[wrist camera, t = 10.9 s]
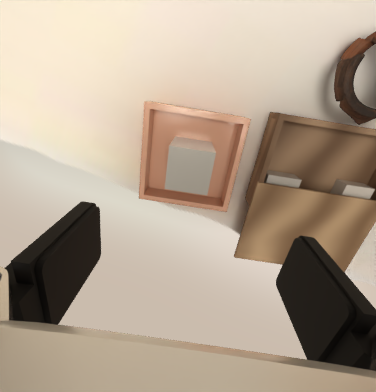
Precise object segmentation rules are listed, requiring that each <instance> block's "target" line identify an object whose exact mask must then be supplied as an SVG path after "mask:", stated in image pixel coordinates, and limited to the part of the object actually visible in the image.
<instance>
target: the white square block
mask: <svg viewBox="0 0 376 392" xmlns="http://www.w3.org/2000/svg"><path fill="white" fill-rule="evenodd" d="M374 191H375V189H374V188H372V187H370V186H368V185H366V184H364V183H358V182H352V181H346V180H339V179H337V180H336V182H335V184H334V186H333V188H332V190H331V192H330V193H333V194H339V195H345V196H351V197H358V198H364V199H370V198H371V196H372V194H373V192H374Z"/></svg>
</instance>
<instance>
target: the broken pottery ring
mask: <svg viewBox="0 0 376 392" xmlns="http://www.w3.org/2000/svg"><path fill="white" fill-rule="evenodd" d="M374 44H376V32H374V33H373V34H371V35H369V36H368V37H367V38H366V39H361V38H358V39H357V40H356V41H354V42H353V43H352V44H351V45H350V46H349V48H348V49H347V50H346V51H345V52H344V54H343V55H342V57H341V59H342V60H340V61H339V63H338V65H337V69H336V73H335V81H334V92H335V99H336V101H340V108H341V109H342V110H343V111H344V112H345V113H347V114H348V115H349V116H350V117H351V118H352V119H353V120H354V121H355V122H356V123H357V124H358V125H360V124H362V123H366V122H368V121H370V120H372V119H375V118H376V109H373V108H370V107H367V106H365V105H364V104H362V103H361V102H360V101H359V100H358V98H357V97H356V95H355V92H354V86H353V81H354V75H355V72H356V70H357V67H358V65H359V64H360V62H361V61H362V59H363V58H364V56H365V55H364V54H363V53H364V52H365V51H366V50H367V49H369V48H370V47H371V46H373V45H374Z"/></svg>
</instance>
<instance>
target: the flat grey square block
mask: <svg viewBox="0 0 376 392" xmlns="http://www.w3.org/2000/svg"><path fill="white" fill-rule="evenodd" d="M301 181H302V180H301V179H300V178H298V177H297V176H296V175H294V174H290V173H284V172H277V171H271V170H268V171H267V174H266V177H265V180H264V183H270V184H276V185H282V186H288V187H295V188H299V186H300V183H301Z"/></svg>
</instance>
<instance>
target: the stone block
mask: <svg viewBox="0 0 376 392" xmlns="http://www.w3.org/2000/svg"><path fill="white" fill-rule="evenodd" d="M215 155H216V152H215V149H214V146H213V144H212V142H209V141H202V140H196V139H190V138H184V137H177V136H175V137H174V139H173V141H172V142H171V144H170V145H169V153H168V162H167V171H166V180H165V189H169V190H175V191H182V192H188V193H195V194H201V195H207V194H208V189H209V184H210V179H211V175H212V170H213V165H214V160H215Z"/></svg>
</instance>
